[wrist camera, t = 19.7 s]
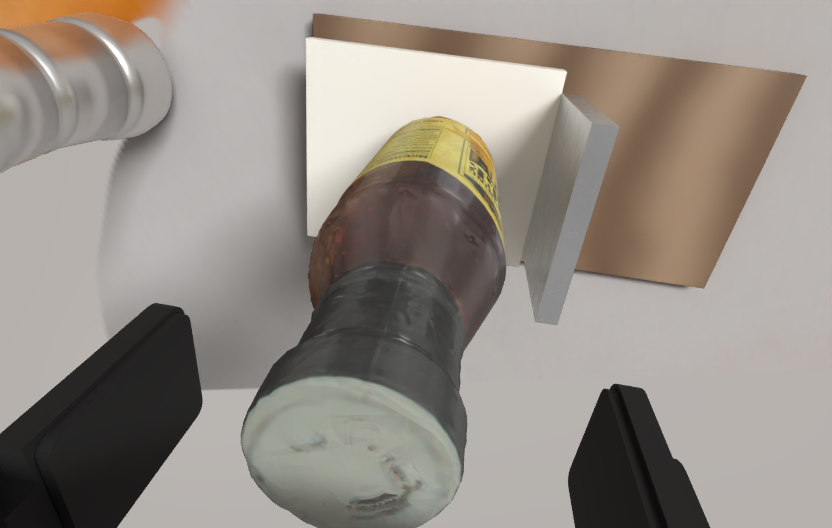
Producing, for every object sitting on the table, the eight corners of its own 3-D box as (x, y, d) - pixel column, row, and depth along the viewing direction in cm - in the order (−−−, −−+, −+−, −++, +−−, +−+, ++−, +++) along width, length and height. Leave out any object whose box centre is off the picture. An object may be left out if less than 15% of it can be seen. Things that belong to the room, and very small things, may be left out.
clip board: (795, 73, 25) (806, 75, 24) (697, 280, 31) (704, 288, 30) (318, 13, 26) (313, 13, 25) (317, 224, 32) (313, 230, 32)
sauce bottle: (488, 224, 27) (508, 612, 10) (381, 217, 28) (218, 571, 10) (501, 106, 24) (564, 367, 6) (380, 100, 24) (139, 327, 7)
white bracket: (577, 68, 25) (628, 98, 17) (530, 249, 30) (551, 342, 22) (321, 35, 26) (245, 48, 17) (319, 218, 31) (261, 296, 23)
